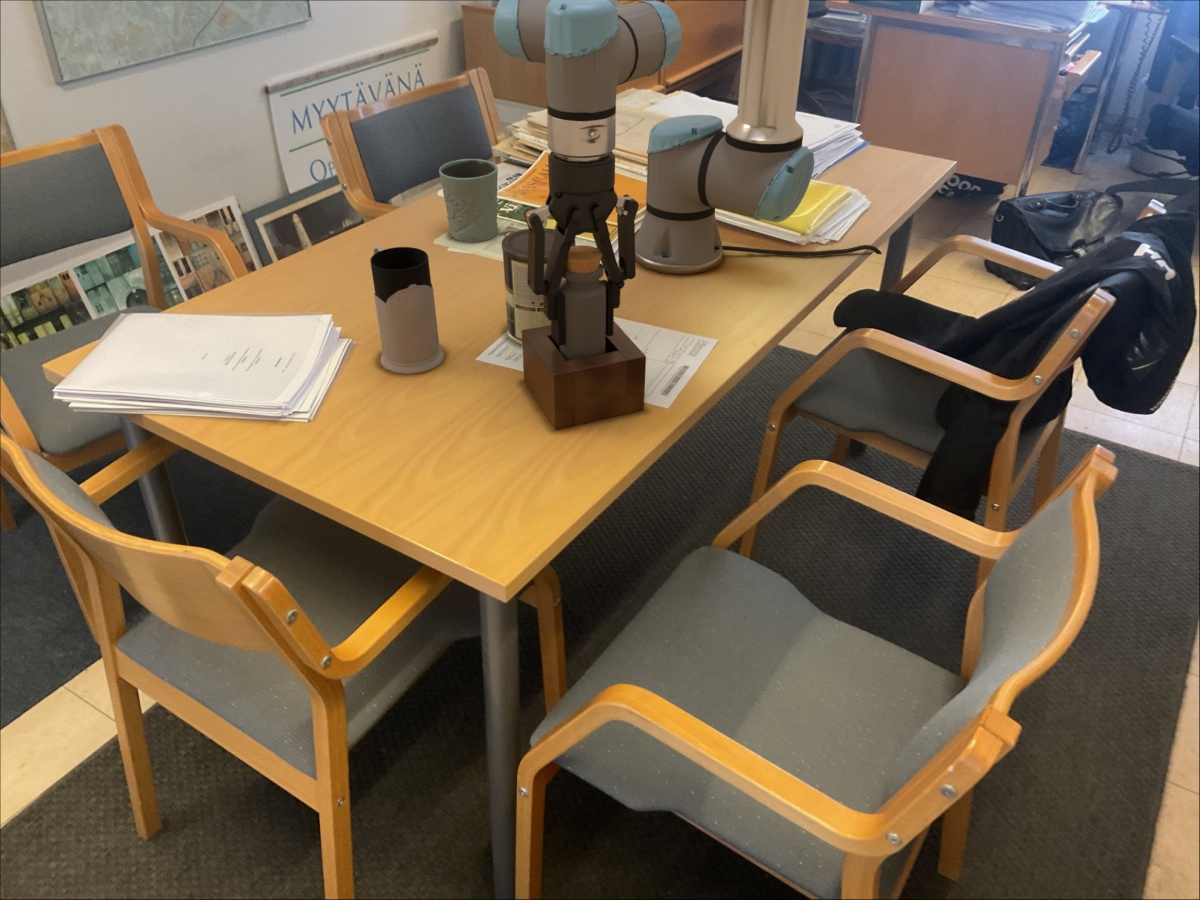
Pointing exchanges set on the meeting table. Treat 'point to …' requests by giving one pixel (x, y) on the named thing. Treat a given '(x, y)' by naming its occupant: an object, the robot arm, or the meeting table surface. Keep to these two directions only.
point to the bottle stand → (583, 378)
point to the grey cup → (470, 198)
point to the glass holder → (405, 310)
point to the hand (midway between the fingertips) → (582, 335)
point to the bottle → (583, 304)
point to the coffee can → (523, 284)
